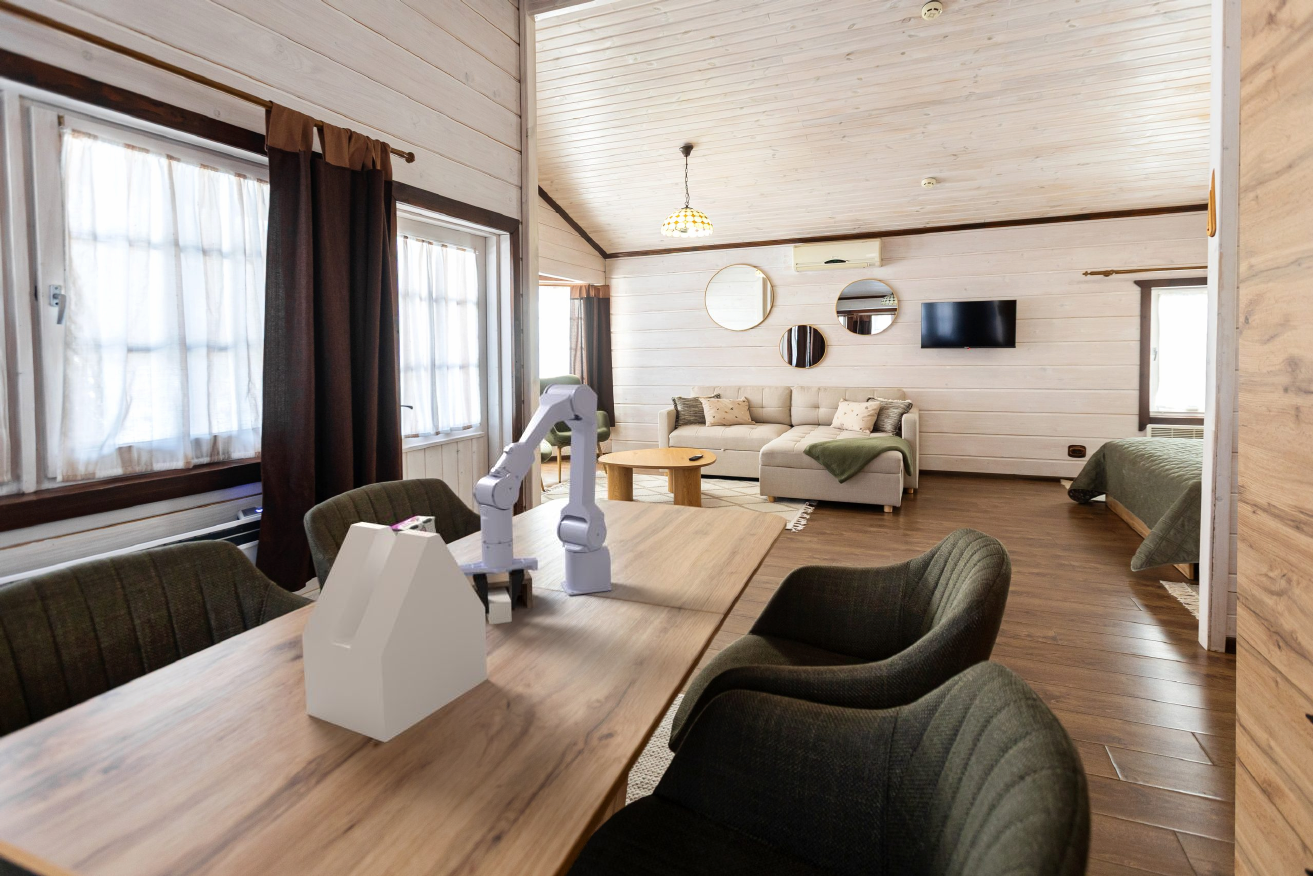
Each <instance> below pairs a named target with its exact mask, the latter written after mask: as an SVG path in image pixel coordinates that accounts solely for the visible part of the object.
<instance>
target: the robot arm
mask: <svg viewBox="0 0 1313 876" xmlns="http://www.w3.org/2000/svg"><path fill="white" fill-rule="evenodd" d="M538 404H539V406H538V408H537V409H536V411H535V413H534V415H533V417H531V419H530V421H529V423H528V425H527V427H526V428H525V430H524V431H523V434H522V435H521V437H520V438H519V441H517V442H512V443H509V444H508V445H506V446H505V447H504V449H503V453H502V455H501V456H500V458H499V459H498V460H497V462H496V463H495V465H494V467H492V468H491V469H490V471H489V474H488V475H485V476H484V477H481V478H480V479H479V481H477V483H476V485H475V488H474V491H473V492H472V498H473V500H474V502H475V503H476V504H477V506H478V513H479V514H480V537H481V539H480V540H481V541H480V542H481V561H476V562H472V563H467V564H462V565H461V564H459V566H460V568H461V570H462V571H463V573H464V575H465V576H466V577H469V576H472V577H473V581H474V583H475V585H476V587H477V589H478V591H479V593H480V595H481V598H482V600H481V601H482V603H483V605H484V607H485V615H487V614H489V602H488V581H487V576H486V575H488V574H497V573H506V572H508V574H509V598H510V600H511V612H512V611H514V612H515V609H516V608H515V607H516V602H517V599H518V596H519V595H518V592H519V589H520V587H521V585H522V583H523V581H524V578H525V574H524V570H528V571H533V572H534V571H538V570H539V568H538V567H539V565H538V559H537V558H536V557H522V558H521V557H517V558H515V557H514V537H513V536H514V533H513V532H514V530H513V528H514V527H513V506H514V505H515V503H517V502H518V500H519V498H520V497H519V496H520V487H521V486H522V485H521V484H522V481H523V480H524V478H525V476H526V475H527V473H528V472H529V470H530V469H531V467H532V466H533V464H534V462H535V461H536V456H535V451H536V450H537V448H538V447H539V445H540V444H541V443H542V441H544V439H545V437H546V436H547V435H548V434H549V432H550V431H551V430H552V429H553V427H554V426H555V425H556V423H559V422H564V423H565V424H566V425H567V426H568V427H569V428H570V430H571V437H570V439H571V441H570V461H569V462H570V463H569V464H570V467H569V490H568V491H569V493H568V494H569V495H568V503H567V504H566V505H565V506H564V507H562V509H561V510H560V515H559V520H558V522H557V525H556V535H557V538H558V540H559V541H560V542H561V543H562V548H564V555H565V556H564V557H565V558H564V559H565V561H564V563H565V564H564V566H565V581H560V585H561V587H562V588H563V589H564V591H565V593H566V594H567V595H568V596H575V595H582V594H592V593H599V592H607V591H611V590H613V589H612V577H611V575H612V573H611V572H612V563H611V553H610V550H609V547H608V546H607V545H604V544H605V541H606V538H607V534H608V528H607V525H606V521H605V512H604V511H603V510H602V509H601V508H600V507H599V506H598V505H597V504H596V502H595V501H596V500H595V498H596V479H597V478H596V477H597V475H596V474H597V453H598V452H597V450H598V448H597V447H598V421H599V420H598V415H597V412H598V409H597V408H598V394H596V392H595V391H594V390H593V389H592V388H591V386H589V385H587V384H584V383H583V384H558V383H550V384H549V385H547V386H546V387H545V388H544V390H543V393H542V394H541V395H540V396H539V397H538Z"/></svg>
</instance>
